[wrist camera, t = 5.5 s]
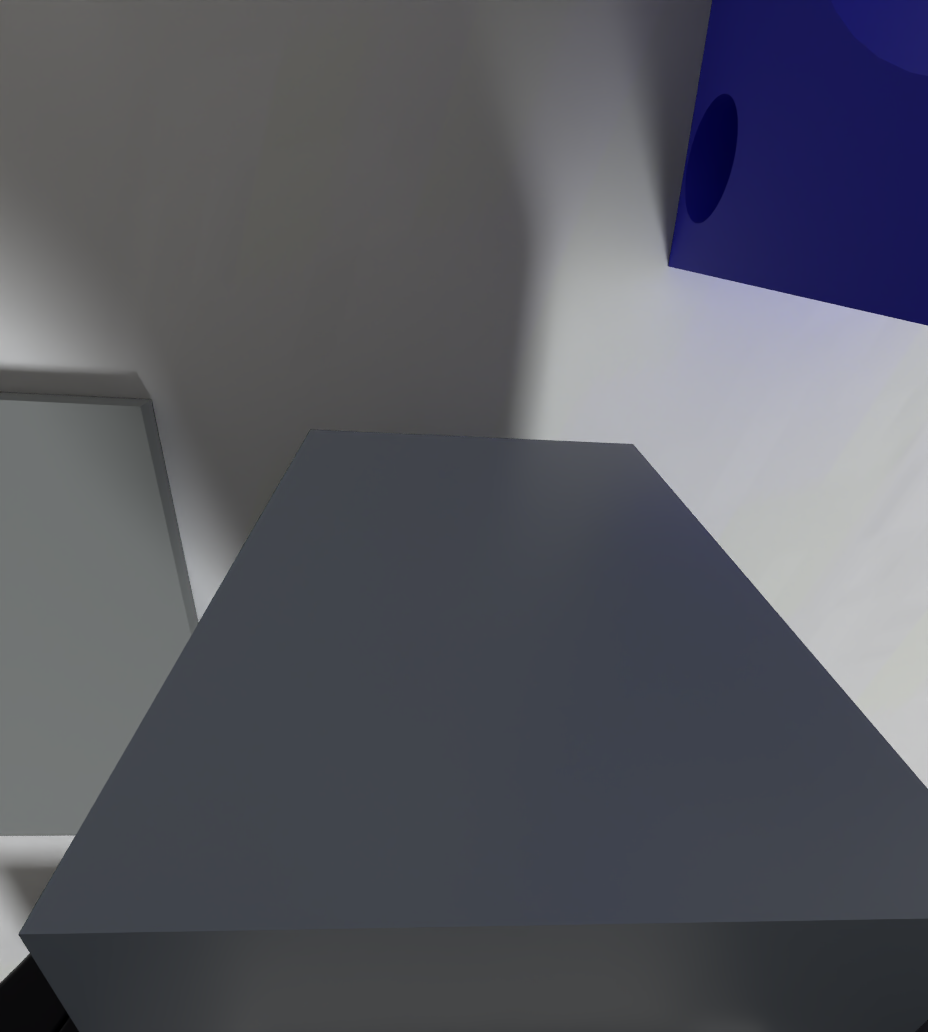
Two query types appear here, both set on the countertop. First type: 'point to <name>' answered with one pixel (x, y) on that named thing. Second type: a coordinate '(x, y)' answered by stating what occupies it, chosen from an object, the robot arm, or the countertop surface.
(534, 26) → the countertop surface
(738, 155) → the cable clip
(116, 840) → the block
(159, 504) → the mat
